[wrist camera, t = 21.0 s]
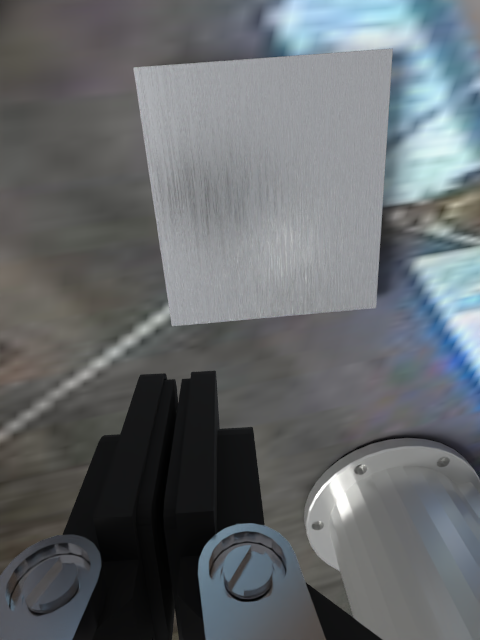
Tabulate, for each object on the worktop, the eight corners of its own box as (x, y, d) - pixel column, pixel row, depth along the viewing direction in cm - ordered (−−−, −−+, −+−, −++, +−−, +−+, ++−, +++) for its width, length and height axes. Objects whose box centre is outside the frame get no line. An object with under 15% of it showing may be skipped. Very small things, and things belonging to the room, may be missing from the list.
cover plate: (140, 72, 20) (376, 55, 20) (174, 311, 25) (364, 294, 25) (133, 67, 18) (392, 48, 19) (171, 326, 23) (375, 307, 24)
